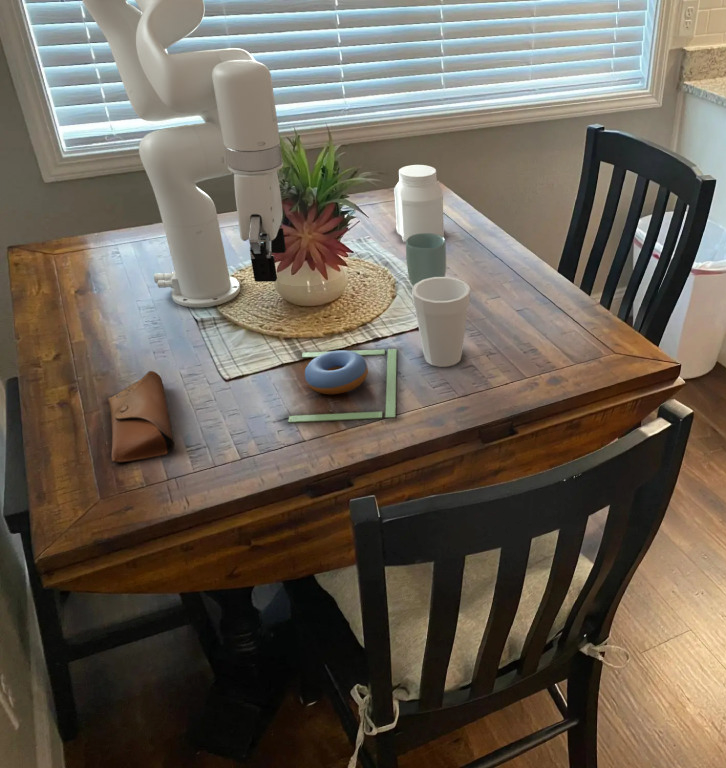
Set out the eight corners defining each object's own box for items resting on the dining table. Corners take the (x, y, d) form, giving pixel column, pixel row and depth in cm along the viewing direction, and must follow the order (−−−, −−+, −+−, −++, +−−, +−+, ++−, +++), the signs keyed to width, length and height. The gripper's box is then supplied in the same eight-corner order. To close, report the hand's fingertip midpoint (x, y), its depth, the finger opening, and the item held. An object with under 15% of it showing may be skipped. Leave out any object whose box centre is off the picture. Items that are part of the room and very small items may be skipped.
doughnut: (296, 379, 123) (292, 355, 120) (351, 360, 128) (348, 337, 126) (323, 408, 117) (320, 384, 114) (380, 387, 122) (378, 363, 119)
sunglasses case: (104, 396, 117) (118, 360, 115) (151, 406, 121) (166, 371, 119) (111, 465, 103) (127, 425, 102) (164, 472, 108) (180, 435, 106)
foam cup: (478, 349, 132) (478, 282, 125) (458, 376, 125) (457, 306, 118) (429, 339, 135) (426, 273, 128) (406, 364, 128) (402, 296, 120)
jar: (393, 227, 177) (389, 164, 168) (432, 223, 180) (430, 160, 172) (406, 246, 168) (403, 181, 160) (447, 241, 171) (446, 176, 163)
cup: (449, 279, 155) (448, 234, 149) (443, 297, 148) (441, 250, 143) (412, 277, 155) (410, 231, 150) (404, 294, 149) (401, 247, 143)
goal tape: (288, 422, 113) (288, 421, 113) (302, 353, 130) (302, 352, 130) (395, 417, 115) (395, 416, 115) (396, 349, 132) (396, 348, 131)
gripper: (238, 136, 113) (255, 242, 122) (213, 177, 99) (235, 293, 108) (289, 137, 113) (302, 242, 123) (272, 178, 99) (288, 292, 109)
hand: (271, 266), depth 116 cm, fingers open, 9 cm apart
